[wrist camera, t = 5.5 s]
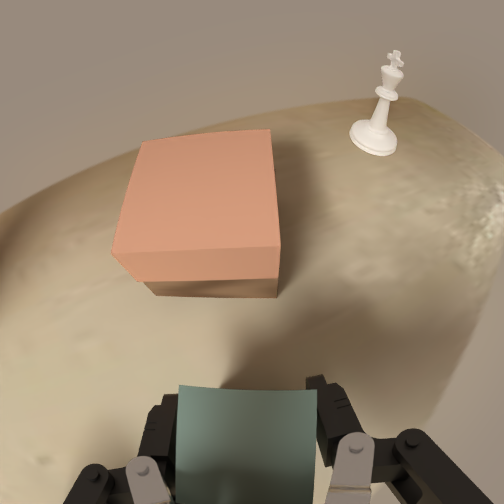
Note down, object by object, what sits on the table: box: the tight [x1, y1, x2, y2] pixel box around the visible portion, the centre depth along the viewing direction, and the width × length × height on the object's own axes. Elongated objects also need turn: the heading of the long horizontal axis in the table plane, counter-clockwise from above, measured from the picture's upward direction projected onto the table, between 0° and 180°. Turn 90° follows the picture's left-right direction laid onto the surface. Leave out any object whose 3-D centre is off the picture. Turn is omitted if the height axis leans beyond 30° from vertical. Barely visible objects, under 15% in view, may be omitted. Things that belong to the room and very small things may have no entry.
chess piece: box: [349, 50, 404, 156], centre depth 21 cm, size 5×5×10 cm
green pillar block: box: [176, 385, 317, 504], centre depth 11 cm, size 4×4×8 cm
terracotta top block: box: [111, 129, 281, 282], centre depth 16 cm, size 8×8×4 cm
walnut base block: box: [143, 169, 278, 298], centre depth 19 cm, size 8×8×4 cm
